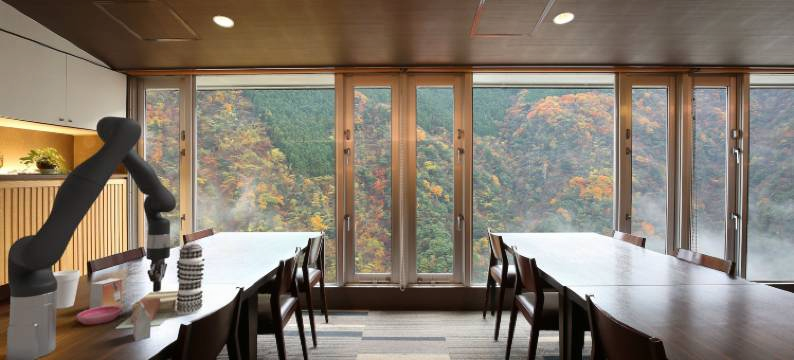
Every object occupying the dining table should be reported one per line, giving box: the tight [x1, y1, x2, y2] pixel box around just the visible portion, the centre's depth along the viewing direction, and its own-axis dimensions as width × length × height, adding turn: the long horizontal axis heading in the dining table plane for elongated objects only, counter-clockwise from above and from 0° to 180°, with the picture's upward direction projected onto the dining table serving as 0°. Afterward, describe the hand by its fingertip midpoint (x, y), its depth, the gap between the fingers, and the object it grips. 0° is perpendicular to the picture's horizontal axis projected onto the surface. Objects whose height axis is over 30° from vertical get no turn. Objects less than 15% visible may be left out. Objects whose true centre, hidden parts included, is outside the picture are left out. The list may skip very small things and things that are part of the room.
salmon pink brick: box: [130, 298, 161, 323], centre depth 127 cm, size 9×6×2 cm, turn 14°
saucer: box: [75, 306, 123, 326], centre depth 126 cm, size 12×12×3 cm
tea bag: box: [132, 302, 152, 342], centre depth 113 cm, size 4×7×10 cm, turn 42°
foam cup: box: [53, 269, 81, 310], centre depth 139 cm, size 10×9×13 cm
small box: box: [89, 277, 123, 309], centre depth 138 cm, size 8×6×10 cm
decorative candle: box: [176, 244, 205, 316], centre depth 136 cm, size 9×9×25 cm
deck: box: [131, 290, 178, 315], centre depth 139 cm, size 16×13×4 cm
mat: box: [115, 313, 173, 330], centre depth 125 cm, size 12×13×1 cm
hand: (156, 291), depth 136 cm, fingers closed
